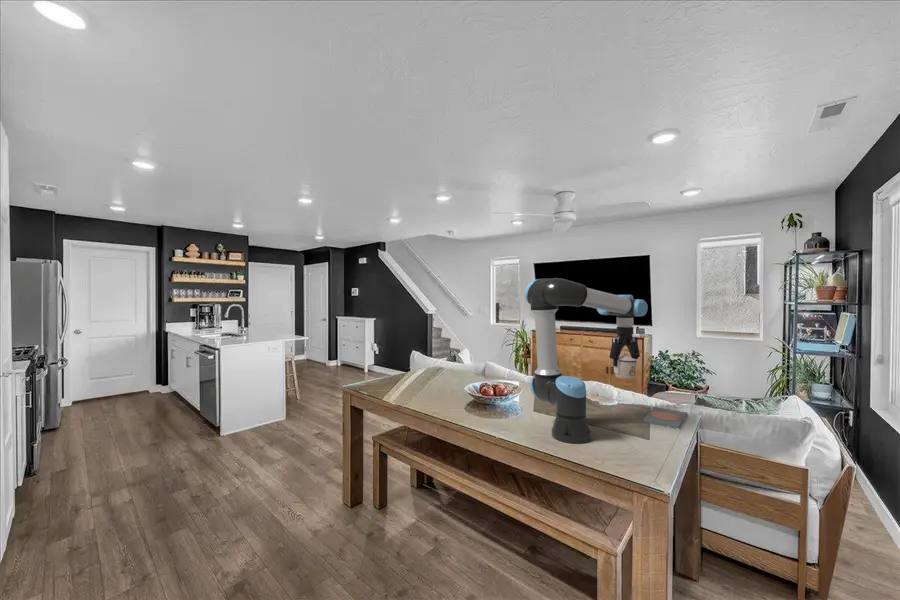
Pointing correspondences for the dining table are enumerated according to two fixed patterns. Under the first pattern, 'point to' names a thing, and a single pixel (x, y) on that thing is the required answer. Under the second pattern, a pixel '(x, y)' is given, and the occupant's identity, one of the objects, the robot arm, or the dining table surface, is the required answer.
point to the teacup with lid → (627, 367)
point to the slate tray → (665, 417)
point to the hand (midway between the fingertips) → (624, 372)
